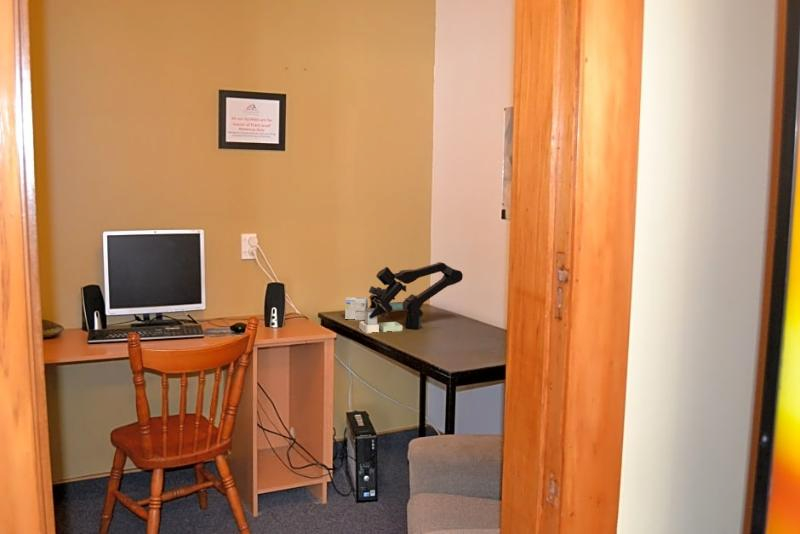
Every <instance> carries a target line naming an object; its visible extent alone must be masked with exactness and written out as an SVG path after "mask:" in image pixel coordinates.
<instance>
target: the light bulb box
mask: <svg viewBox="0 0 800 534" xmlns="http://www.w3.org/2000/svg"><path fill="white" fill-rule="evenodd" d="M344 301H345V302H344V320H345V319H355V320H354V321H364V320H365V309H366V308H369V305H368V304H369V303H368V302H369V297H361V296H360V297H353V296H347V297H346V298H345V299H344Z"/></svg>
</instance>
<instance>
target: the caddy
mask: <svg viewBox="0 0 800 534" xmlns="http://www.w3.org/2000/svg"><path fill="white" fill-rule="evenodd" d="M374 309H375V308H369V307H368V308H366V309H365V324H366V325H377V323H378V316H375V317H373V318H370V317H369V316H370V315H371V313H372V312H373V310H374Z"/></svg>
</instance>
